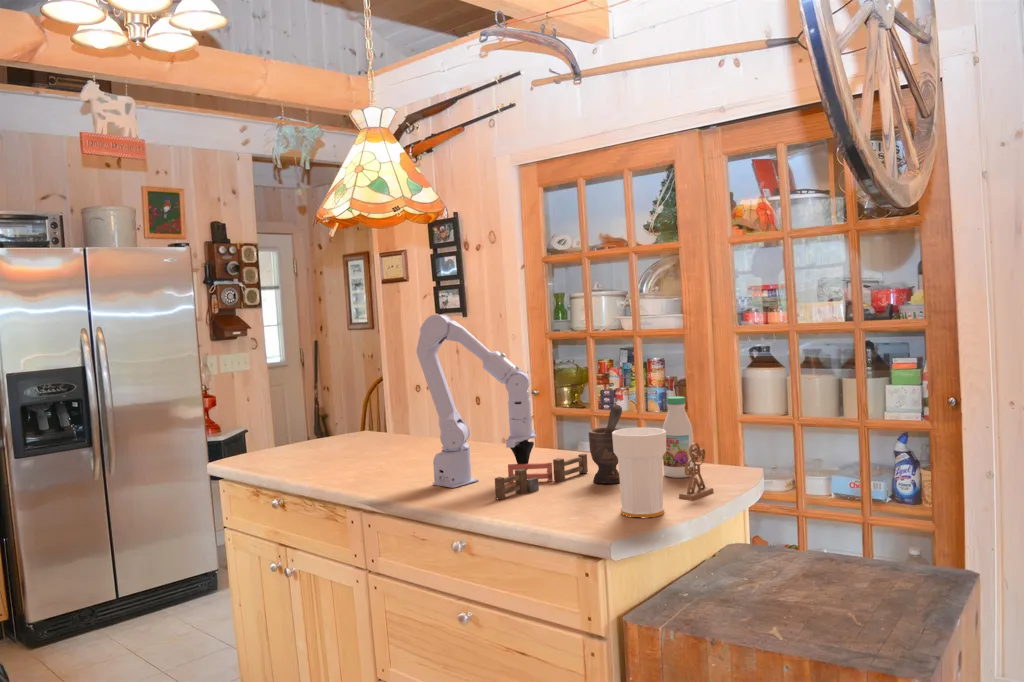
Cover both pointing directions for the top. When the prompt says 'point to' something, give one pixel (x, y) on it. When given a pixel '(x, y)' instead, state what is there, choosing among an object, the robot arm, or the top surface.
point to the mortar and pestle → (605, 449)
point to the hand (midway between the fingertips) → (523, 470)
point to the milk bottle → (677, 438)
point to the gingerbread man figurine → (692, 491)
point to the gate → (533, 466)
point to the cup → (640, 469)
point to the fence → (532, 484)
